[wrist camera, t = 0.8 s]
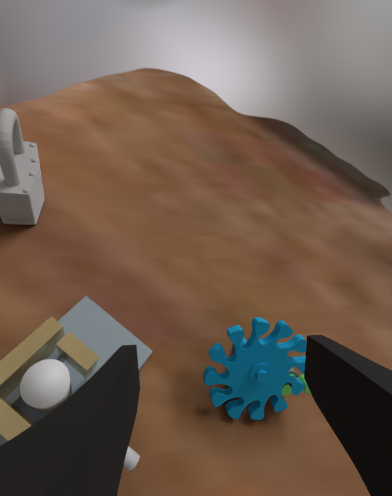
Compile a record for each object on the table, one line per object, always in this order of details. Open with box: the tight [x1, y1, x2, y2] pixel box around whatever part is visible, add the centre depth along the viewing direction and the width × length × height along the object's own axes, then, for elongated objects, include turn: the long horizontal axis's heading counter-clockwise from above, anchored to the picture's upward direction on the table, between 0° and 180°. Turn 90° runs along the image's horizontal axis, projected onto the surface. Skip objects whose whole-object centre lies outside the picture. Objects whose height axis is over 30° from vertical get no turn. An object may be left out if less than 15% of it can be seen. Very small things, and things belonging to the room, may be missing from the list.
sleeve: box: [0, 316, 104, 441], centre depth 17 cm, size 6×6×4 cm
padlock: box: [0, 108, 45, 225], centre depth 25 cm, size 7×4×10 cm, turn 12°
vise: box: [0, 296, 153, 472], centre depth 18 cm, size 14×12×8 cm
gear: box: [203, 317, 311, 420], centre depth 26 cm, size 11×6×10 cm
